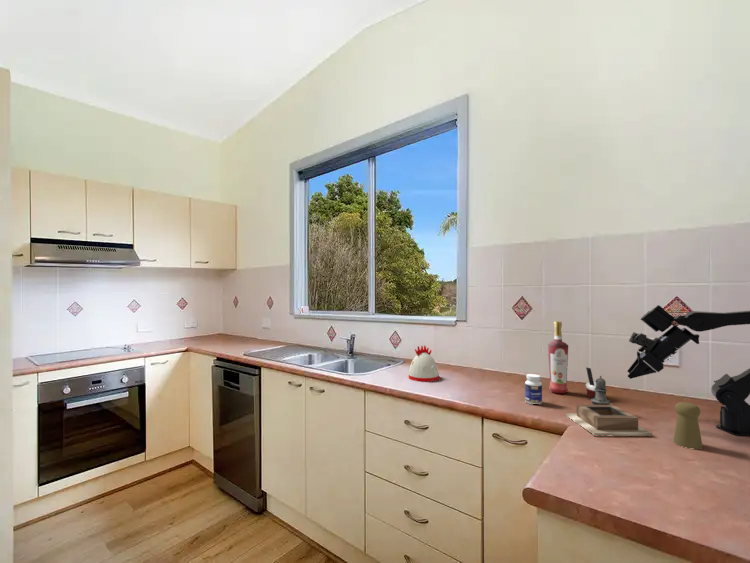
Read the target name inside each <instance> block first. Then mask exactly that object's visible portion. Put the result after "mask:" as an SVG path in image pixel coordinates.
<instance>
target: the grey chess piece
mask: <svg viewBox="0 0 750 563" xmlns="http://www.w3.org/2000/svg"><path fill="white" fill-rule="evenodd" d="M595 381H596V388H595V390H596V395H595V398H592V399H591V398H590V401H591V405H611V404H612V402H611V400H609V399H608V398H607V391H608V389H607V387H606V384H607V382H606V380H605V378H602V375H600V376H599V378H597V379H595Z"/></svg>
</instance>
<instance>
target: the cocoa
mask: <svg viewBox="0 0 750 563" xmlns="http://www.w3.org/2000/svg"><path fill="white" fill-rule="evenodd" d="M585 370H586V372H587V377H588V380H587V382H586V383H585V389H586V394H587V396H588V398H590V400H591V399H592V398H595V395H596V390H595V388H596V380H594V377H593V373H592V372H593V371H592V369H591V367H586V369H585Z"/></svg>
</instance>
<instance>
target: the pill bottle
mask: <svg viewBox="0 0 750 563" xmlns="http://www.w3.org/2000/svg"><path fill="white" fill-rule="evenodd" d="M524 402H525V403H526V402H527V403H526V404H529V405H533V404H539V405H542V404H543V383H542V382H541V375H539V374H535V373H527V374H526V381H525V382H524Z"/></svg>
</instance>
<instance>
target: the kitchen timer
mask: <svg viewBox="0 0 750 563" xmlns="http://www.w3.org/2000/svg"><path fill="white" fill-rule="evenodd" d="M429 349H430V348H429V347H427V346H426V345H425V344H424V346H423V345H421V347H420V346H417V349H416V348H414V351H415V354H416V355H415V356H414V358H413V359H412V361H411V363H410V366H409V369H408V379H409V380H411V381H415V382H420V383H422V382H424V383H428V382H435V381H438V380H439V379H440V374H439V373H440V372H439V368H438V365H437V363H436V361H435V359H434V358H433V356H432V355H431V353H432V351H433V350H432V349H430V350H429Z"/></svg>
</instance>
